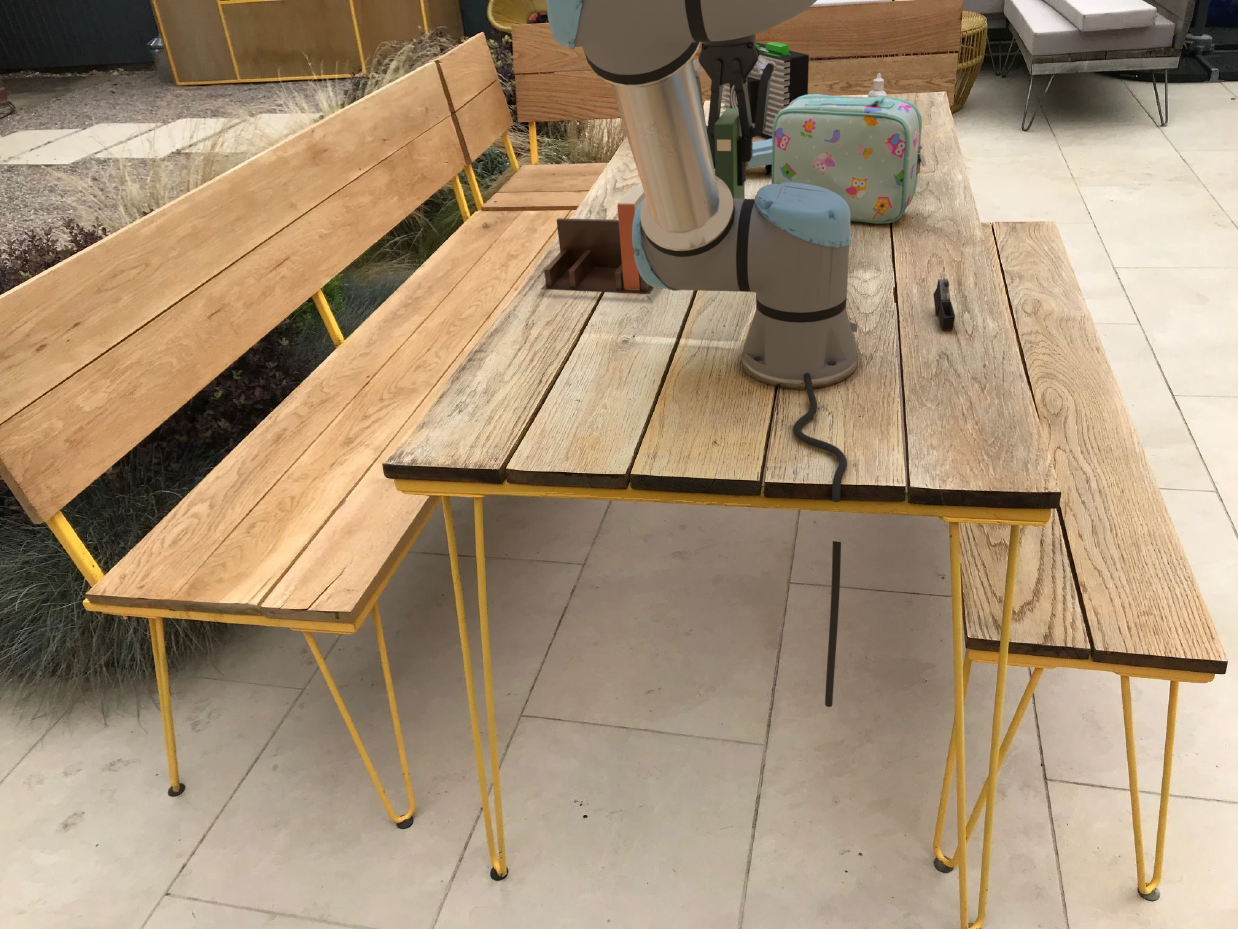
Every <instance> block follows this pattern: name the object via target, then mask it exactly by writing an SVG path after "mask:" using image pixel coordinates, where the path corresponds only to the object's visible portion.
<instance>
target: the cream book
mask: <svg viewBox="0 0 1238 929" xmlns="http://www.w3.org/2000/svg"><path fill="white" fill-rule="evenodd" d="M644 198H645V193H644V190H643V186H642V185H632V187H631V188H629V190H628V191H627V192H626V194H624V195H623V197H621V199H619V201H618V202H617V205H616V206H617V220H619V232H620V245H621V257H622V270H623V282H624V289H625V290H641V277H640V273H639V271H638V269H637V266H636V263H635V259H634V254H635V250H634V248H633V244H632V226H633V219H634V215H635V211H636V209H637V207H638V205H639V204H640V203H641V202H642V201H643V200H644Z"/></svg>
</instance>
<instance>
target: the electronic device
mask: <svg viewBox="0 0 1238 929" xmlns="http://www.w3.org/2000/svg"><path fill="white" fill-rule="evenodd" d="M756 46H757V49H758V51H759V54H760V56H761V57H763V58H765V59H767V60H769V61H771V60H774V61H776V64H777V65H776V68H775V70H774V72H773V74H772V76H771V81H770V90H769V99H768V108H767V117H766V126H765V130H764V131H763V133H762V134H761V135H760V136H759V137H760V138H762V139H764V140H768V139H772V130H773V123H774V119H775V117H776V115H777V114H778V113H779V112H780V111H781V110H783V109H784V108H786V107H788V106H789V104H790V103H791V102H792V101H793V100H795V99H796V98H798V97H801V96H804V95H809V69H810V67H809V65H810V64H809V63H810V55H809V54H807V53H804V52H803V53H802V52H799V51H795V50H790V45H789V44H784V43H781V42H776V41H769V42H766V43H765V44H764V43H760V42H756ZM760 78H761V76H760V75H759V74H758V66H757V65H755V66H754V68H753V69H752V71H751V72H750V74H749V75H748V77H747V83H748V86H747V88H748V96H749V104H750V111H751V119H752V127H753V126H755V119H756V109H757V100H758V90H759V82H760ZM722 99H724V100H722V101H721V104H722V105H721V110H724V111H725V110H726V109H727V108H738V104H737V97H736V92H735V88H734V85H733V84H729V83H727V84H724V87H723V92H722ZM724 111H720V115H722V114H723V113H724Z"/></svg>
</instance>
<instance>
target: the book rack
mask: <svg viewBox="0 0 1238 929" xmlns="http://www.w3.org/2000/svg"><path fill="white" fill-rule="evenodd" d="M556 228H557V235H558V244H559V245H558V246H559V253H557V255H556V256H555V257H554V258H553V259H552V260H551V261H550V262H549V264H547V266H546V267H545V268H544V269H543V273H544V281H545V284H544V285H543V286H542V287H541V288H540V290H548V291H549V290H550V291H551V290H553V291H569V292H571V291H572V292H592V293H594V292H595V293H614V294H635V295H650V294H651V293H652V291H653V290H654V288H655V287H652V286H650V285H649V284H647V283H646V282H645V281H644V279H643V278H642V277H641V275H640V277H641V290H625V289H624V282H623V270H622V257H621V245H620V232H619V220H618V219H604V218H603V219H598V218H597V219H596V218H564V217H563V218H562V217H561V218H559V217H558V218H556Z"/></svg>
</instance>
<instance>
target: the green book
mask: <svg viewBox="0 0 1238 929" xmlns="http://www.w3.org/2000/svg"><path fill="white" fill-rule="evenodd" d="M714 129H715V169H714V170H715V172H716V176H717V177H719V178H720V179H721V180H722V181H723V182H724V183H725V184H726V185H727V186H728V188H729V190H730V192H731V194H732V197H733V199H746V198H745V197H746V196H745V195H746V194H745V192H746V191H745V186H746V185H745V184H746V181H745V182H744V184H743V186H737V141H738V139H739V138H740V136H742V134H741V126H740V119H739V112H738V108H727V109H726V110H725V109H724V113H723V114H720V118H719V119H718V120H717V121H716V123H715V125H714Z"/></svg>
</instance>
